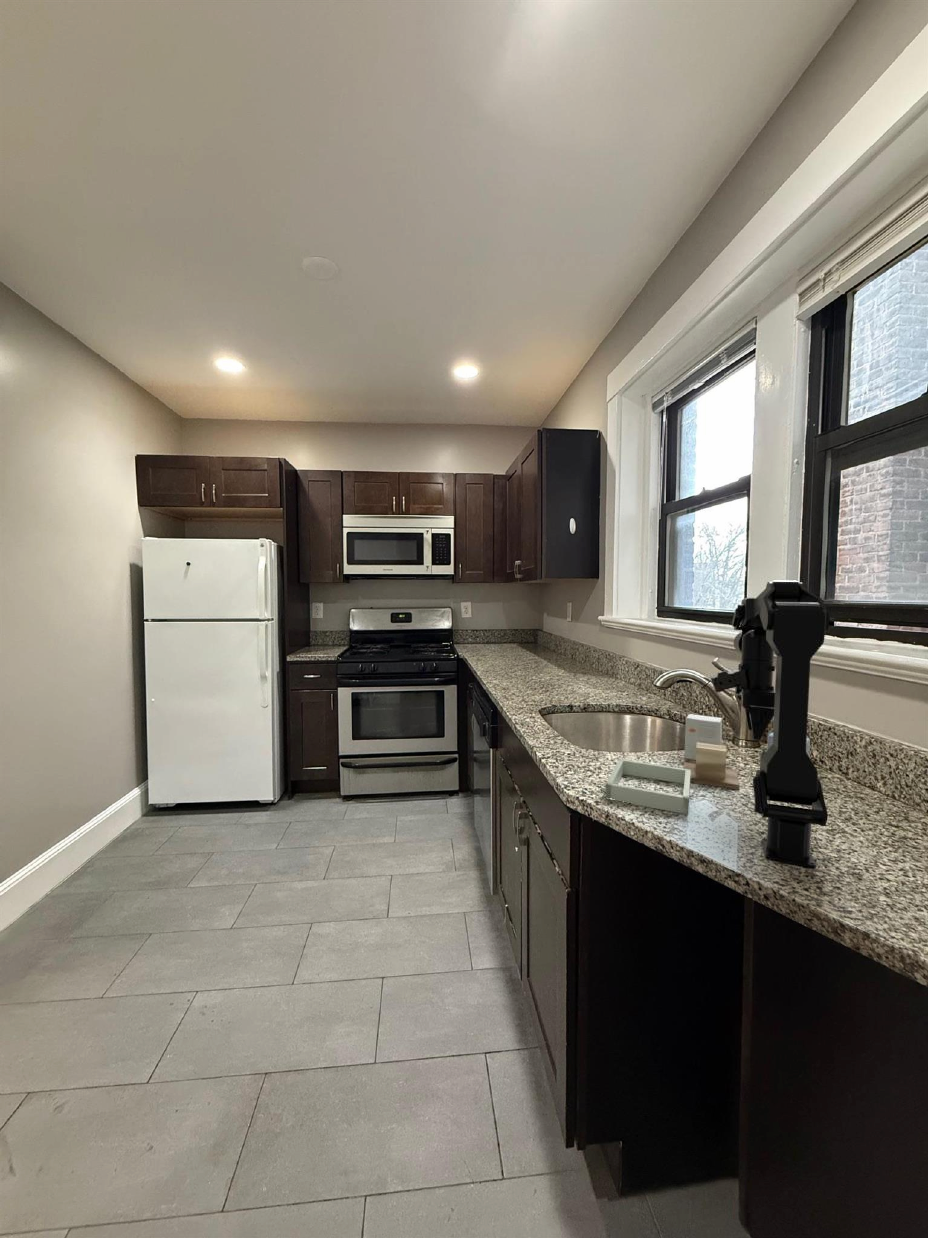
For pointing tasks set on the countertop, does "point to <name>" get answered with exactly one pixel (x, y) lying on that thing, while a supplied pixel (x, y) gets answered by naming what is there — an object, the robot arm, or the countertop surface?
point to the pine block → (710, 760)
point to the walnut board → (714, 778)
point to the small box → (701, 733)
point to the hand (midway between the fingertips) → (753, 734)
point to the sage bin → (649, 796)
